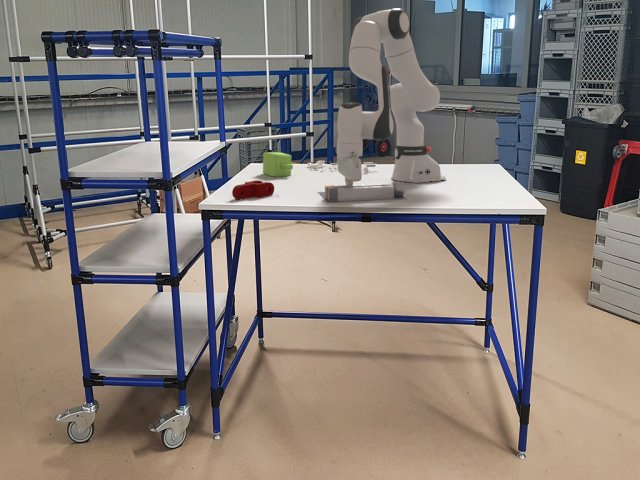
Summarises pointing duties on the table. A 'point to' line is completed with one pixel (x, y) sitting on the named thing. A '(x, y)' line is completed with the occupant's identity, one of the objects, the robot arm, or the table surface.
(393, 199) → the mat
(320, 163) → the miniature set
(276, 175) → the gearbox
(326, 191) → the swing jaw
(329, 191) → the block
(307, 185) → the table surface
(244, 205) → the table surface
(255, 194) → the mechanical linkage
